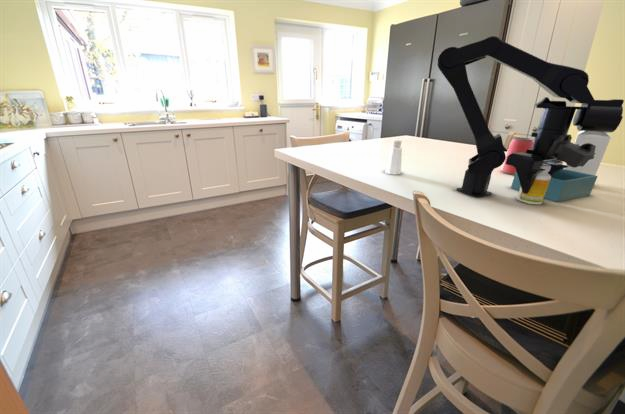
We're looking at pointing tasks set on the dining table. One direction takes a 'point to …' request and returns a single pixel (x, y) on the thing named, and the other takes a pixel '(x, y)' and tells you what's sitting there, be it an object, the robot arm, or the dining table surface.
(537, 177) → the supplement bottle
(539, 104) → the robot arm
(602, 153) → the milk carton
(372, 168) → the dining table surface
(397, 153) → the salt shaker
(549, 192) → the bin
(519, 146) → the beer can
